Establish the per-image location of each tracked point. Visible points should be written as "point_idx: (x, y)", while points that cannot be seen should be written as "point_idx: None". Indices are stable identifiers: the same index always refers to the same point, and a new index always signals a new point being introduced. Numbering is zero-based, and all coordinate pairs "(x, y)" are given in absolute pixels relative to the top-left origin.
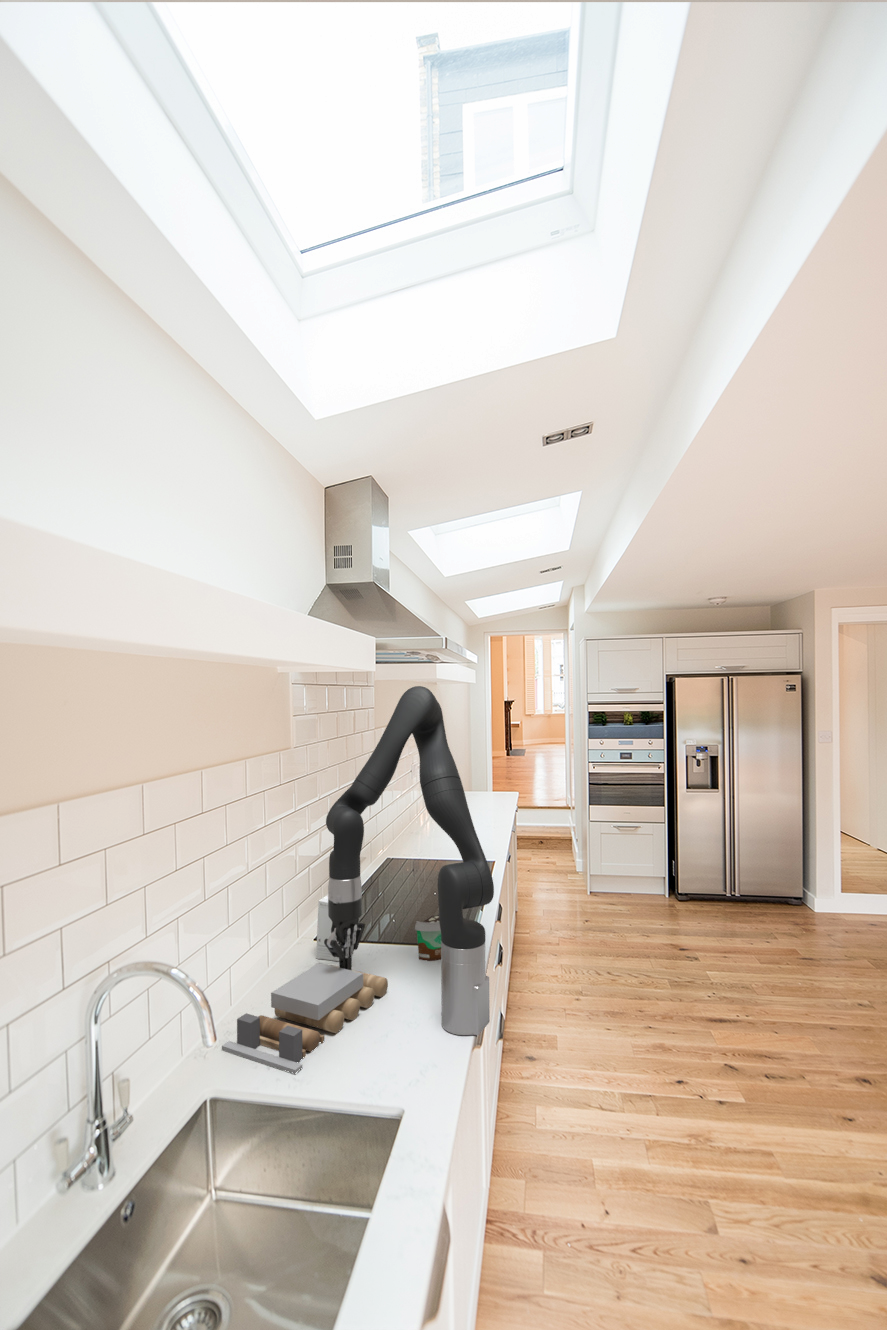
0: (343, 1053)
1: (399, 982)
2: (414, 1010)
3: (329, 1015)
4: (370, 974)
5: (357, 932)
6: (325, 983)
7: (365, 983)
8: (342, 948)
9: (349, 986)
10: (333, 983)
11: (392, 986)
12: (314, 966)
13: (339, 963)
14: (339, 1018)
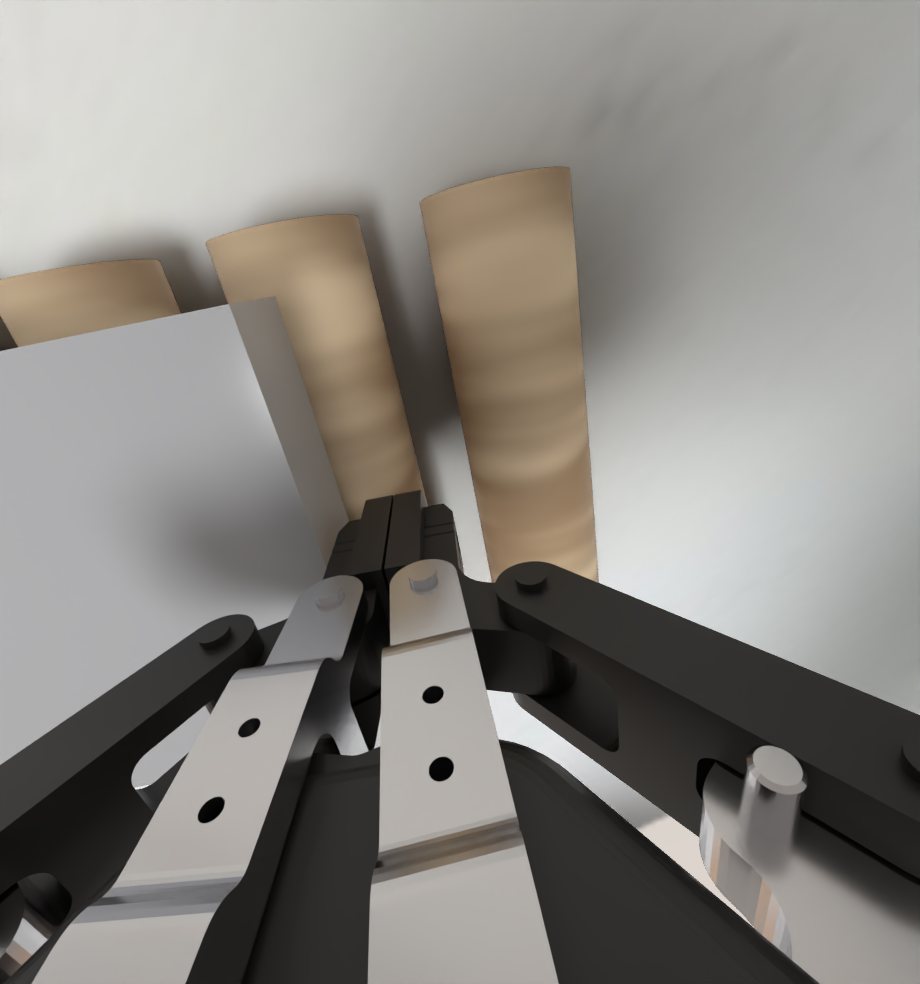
0: None
1: (707, 552)
2: (512, 740)
3: None
4: (568, 567)
5: (698, 800)
6: (50, 680)
7: (495, 567)
8: (394, 619)
9: None
10: None
11: (651, 555)
12: (130, 340)
13: (330, 565)
14: None
